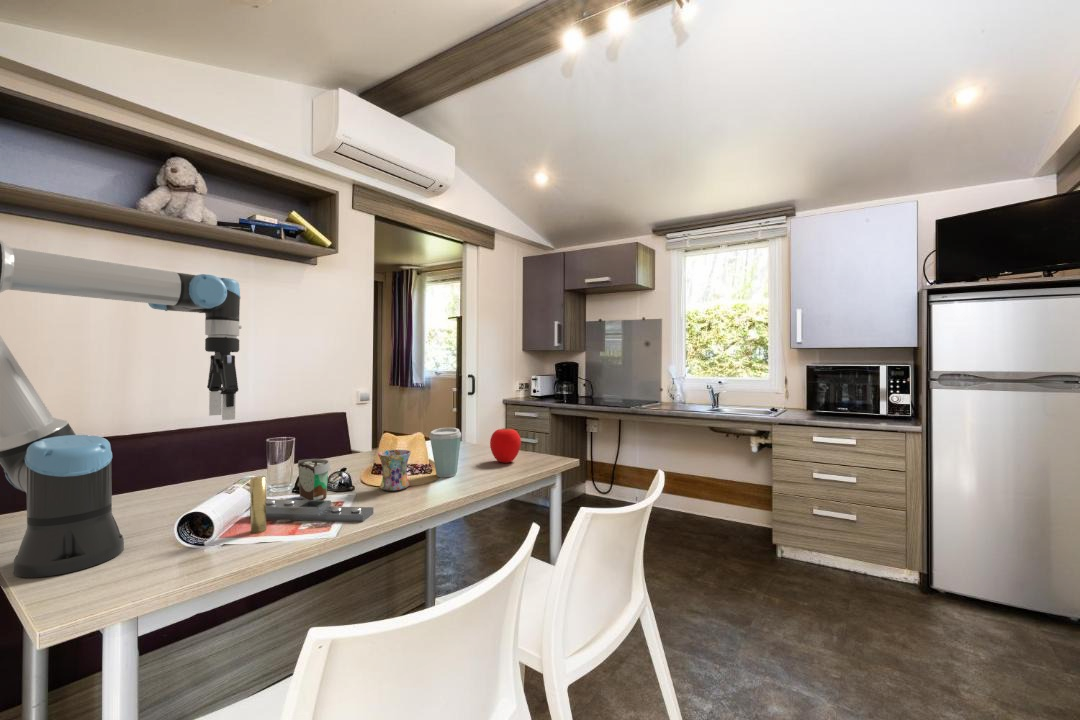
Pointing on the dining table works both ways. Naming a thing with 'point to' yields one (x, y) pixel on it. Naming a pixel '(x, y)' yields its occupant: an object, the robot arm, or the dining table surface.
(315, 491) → the food container
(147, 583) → the dining table surface
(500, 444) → the red apple
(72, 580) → the dining table surface
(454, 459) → the disposable coffee cup
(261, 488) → the pin
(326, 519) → the grey studded plate
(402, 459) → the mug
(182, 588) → the dining table surface
